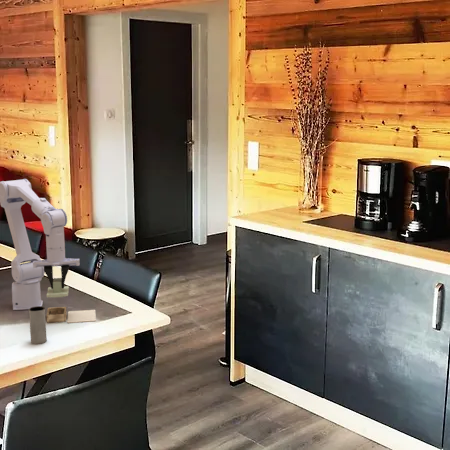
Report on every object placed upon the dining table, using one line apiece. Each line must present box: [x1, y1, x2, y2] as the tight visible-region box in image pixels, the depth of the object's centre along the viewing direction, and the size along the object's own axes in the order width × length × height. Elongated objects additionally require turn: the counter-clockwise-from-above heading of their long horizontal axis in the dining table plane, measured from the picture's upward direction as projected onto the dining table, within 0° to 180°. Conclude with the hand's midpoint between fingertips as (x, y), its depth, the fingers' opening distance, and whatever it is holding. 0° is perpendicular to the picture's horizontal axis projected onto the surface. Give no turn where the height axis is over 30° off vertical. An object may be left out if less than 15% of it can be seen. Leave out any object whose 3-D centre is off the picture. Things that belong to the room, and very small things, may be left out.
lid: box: [46, 277, 70, 299], centre depth 219 cm, size 7×9×5 cm
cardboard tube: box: [28, 305, 48, 345], centre depth 200 cm, size 4×4×10 cm
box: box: [45, 306, 68, 324], centre depth 221 cm, size 6×8×2 cm
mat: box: [66, 309, 97, 324], centre depth 222 cm, size 9×11×1 cm
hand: (57, 287), depth 219 cm, fingers closed on lid, 3 cm apart
